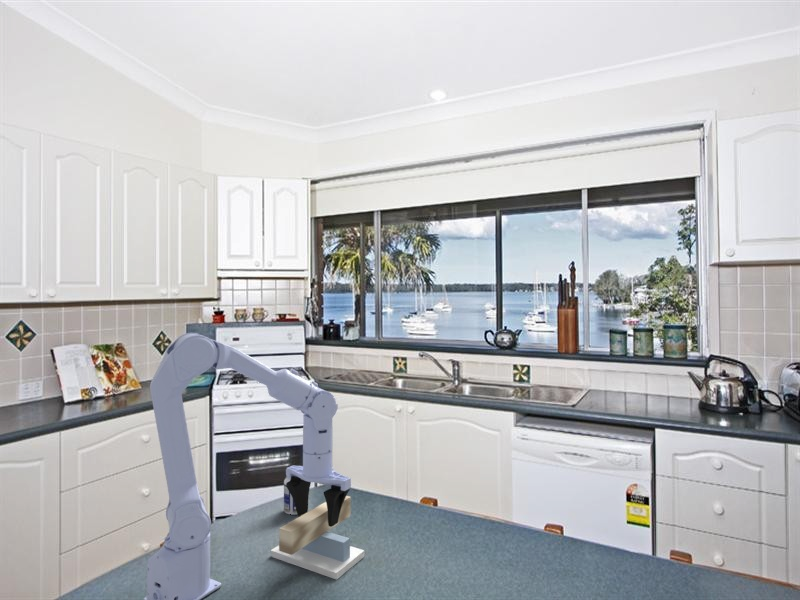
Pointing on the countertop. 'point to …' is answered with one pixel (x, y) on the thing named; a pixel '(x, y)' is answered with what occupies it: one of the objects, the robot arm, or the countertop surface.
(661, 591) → the countertop surface
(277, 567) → the countertop surface
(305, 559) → the ridge stand
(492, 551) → the countertop surface
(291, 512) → the pill bottle
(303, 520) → the beam
